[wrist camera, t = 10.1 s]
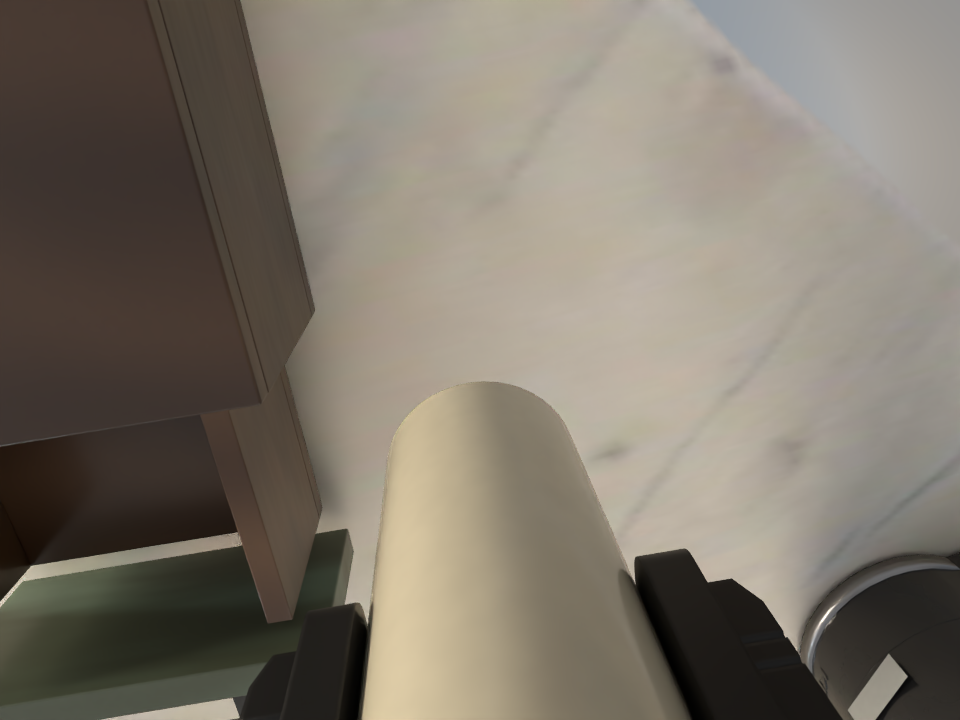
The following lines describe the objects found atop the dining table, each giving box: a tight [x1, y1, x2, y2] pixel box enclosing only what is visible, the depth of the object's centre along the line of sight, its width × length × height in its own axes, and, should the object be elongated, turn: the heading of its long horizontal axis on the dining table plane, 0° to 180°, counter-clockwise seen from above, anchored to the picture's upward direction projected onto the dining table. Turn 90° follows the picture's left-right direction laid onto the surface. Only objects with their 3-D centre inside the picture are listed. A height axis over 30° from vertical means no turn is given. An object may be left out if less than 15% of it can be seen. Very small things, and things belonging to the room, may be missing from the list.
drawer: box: [0, 365, 354, 720], centre depth 23 cm, size 18×13×7 cm
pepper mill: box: [356, 382, 694, 720], centre depth 9 cm, size 4×4×12 cm
